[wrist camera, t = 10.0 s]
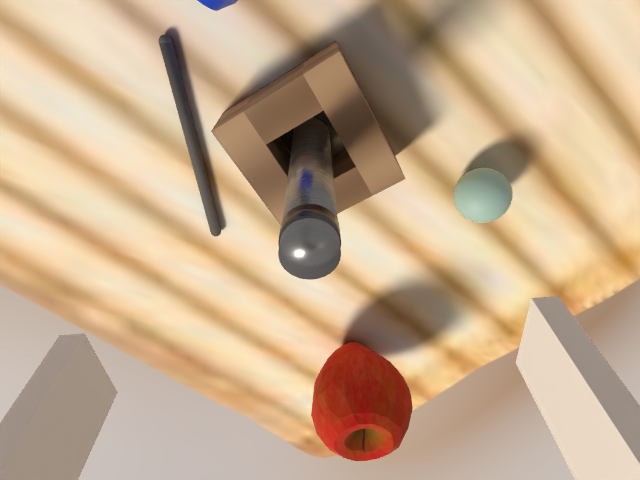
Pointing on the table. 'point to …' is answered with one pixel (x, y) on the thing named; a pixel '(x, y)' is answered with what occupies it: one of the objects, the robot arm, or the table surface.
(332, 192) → the grey metal cylinder rod
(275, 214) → the square wooden ring
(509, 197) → the loose teal bead
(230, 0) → the bracket
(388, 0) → the table surface
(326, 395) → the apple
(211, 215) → the thin dark grey rod
